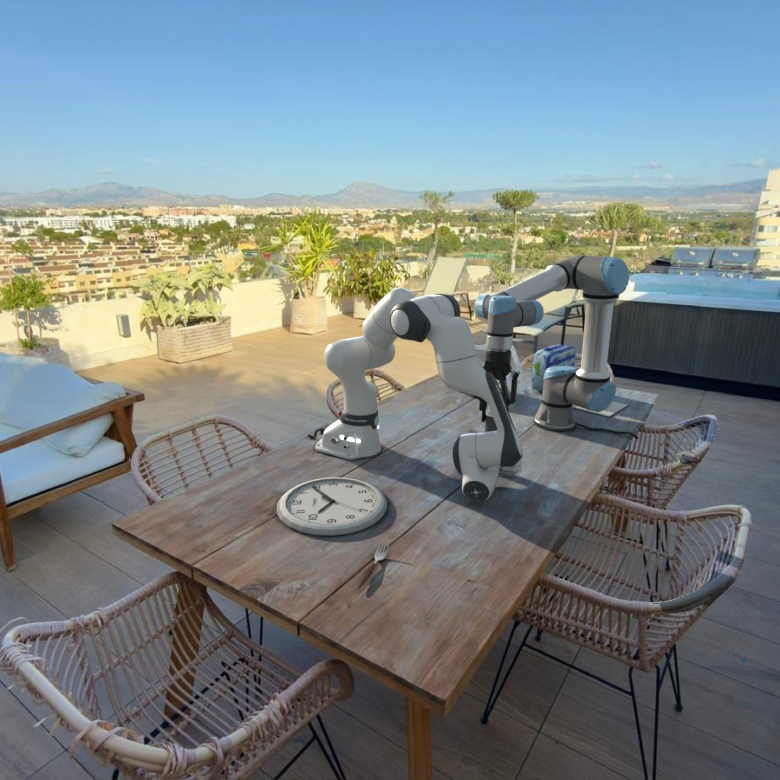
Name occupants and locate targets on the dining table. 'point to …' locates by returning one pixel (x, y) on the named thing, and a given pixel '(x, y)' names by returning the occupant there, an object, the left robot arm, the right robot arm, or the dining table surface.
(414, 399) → the dining table surface
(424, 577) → the dining table surface
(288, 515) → the wall clock
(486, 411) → the cream round lid
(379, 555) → the fork
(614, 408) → the invitation card
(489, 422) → the dark grey cylinder
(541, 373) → the lunch box
